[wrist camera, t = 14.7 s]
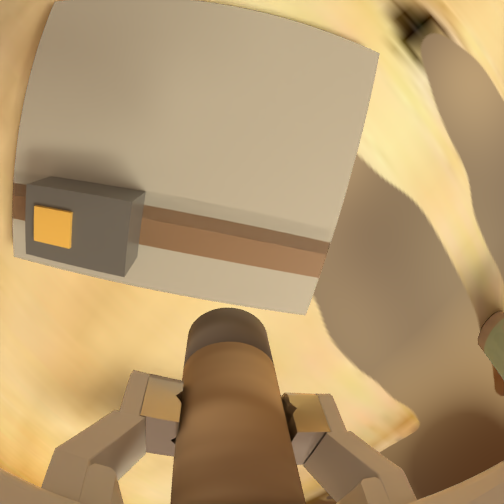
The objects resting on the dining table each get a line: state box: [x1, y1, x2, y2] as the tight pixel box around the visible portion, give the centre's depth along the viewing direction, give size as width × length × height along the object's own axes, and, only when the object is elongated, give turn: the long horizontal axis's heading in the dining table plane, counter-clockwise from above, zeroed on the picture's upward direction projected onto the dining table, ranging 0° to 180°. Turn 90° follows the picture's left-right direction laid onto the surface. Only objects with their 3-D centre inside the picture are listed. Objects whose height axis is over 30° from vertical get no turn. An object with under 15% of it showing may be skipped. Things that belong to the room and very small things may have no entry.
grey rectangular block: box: [25, 176, 146, 277], centre depth 19 cm, size 8×5×4 cm, turn 76°
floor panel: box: [13, 0, 379, 315], centre depth 20 cm, size 26×22×2 cm
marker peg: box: [171, 308, 306, 504], centre depth 8 cm, size 3×3×7 cm
